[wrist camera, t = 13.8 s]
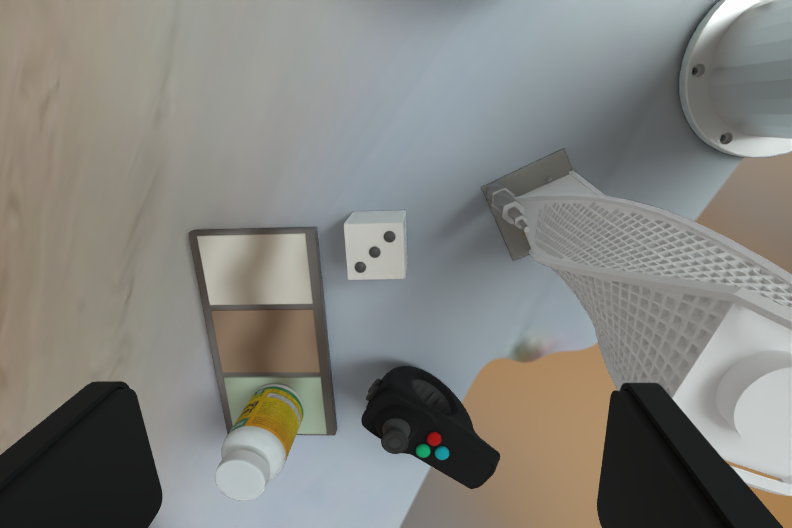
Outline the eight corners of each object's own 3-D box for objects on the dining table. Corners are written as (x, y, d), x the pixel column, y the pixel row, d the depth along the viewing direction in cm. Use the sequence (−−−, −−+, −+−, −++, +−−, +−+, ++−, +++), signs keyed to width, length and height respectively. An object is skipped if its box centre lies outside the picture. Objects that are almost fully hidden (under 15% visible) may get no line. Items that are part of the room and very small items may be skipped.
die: (405, 210, 38) (402, 222, 34) (407, 260, 40) (405, 279, 35) (352, 211, 38) (343, 224, 34) (356, 261, 40) (347, 280, 36)
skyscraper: (580, 139, 36) (1013, 227, 9) (613, 229, 38) (1042, 510, 11) (480, 186, 37) (607, 373, 11) (517, 270, 40) (697, 595, 13)
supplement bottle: (291, 437, 45) (256, 519, 36) (242, 412, 45) (195, 489, 35) (315, 398, 43) (285, 474, 34) (265, 371, 43) (221, 442, 34)
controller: (391, 339, 42) (380, 405, 33) (495, 407, 44) (514, 489, 34) (365, 371, 43) (348, 443, 34) (468, 436, 45) (479, 522, 36)
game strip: (316, 226, 39) (313, 230, 38) (337, 428, 46) (334, 436, 45) (194, 229, 40) (187, 233, 39) (231, 427, 47) (226, 435, 46)
